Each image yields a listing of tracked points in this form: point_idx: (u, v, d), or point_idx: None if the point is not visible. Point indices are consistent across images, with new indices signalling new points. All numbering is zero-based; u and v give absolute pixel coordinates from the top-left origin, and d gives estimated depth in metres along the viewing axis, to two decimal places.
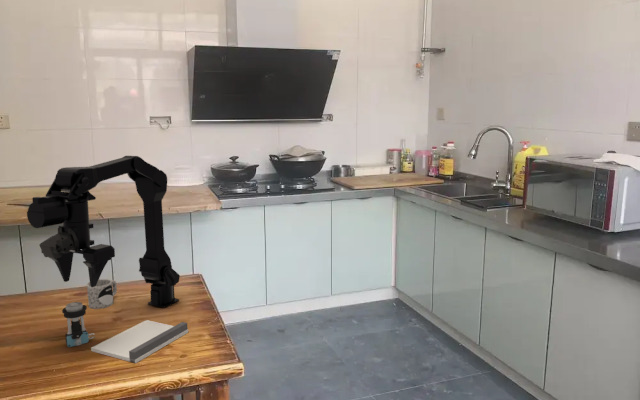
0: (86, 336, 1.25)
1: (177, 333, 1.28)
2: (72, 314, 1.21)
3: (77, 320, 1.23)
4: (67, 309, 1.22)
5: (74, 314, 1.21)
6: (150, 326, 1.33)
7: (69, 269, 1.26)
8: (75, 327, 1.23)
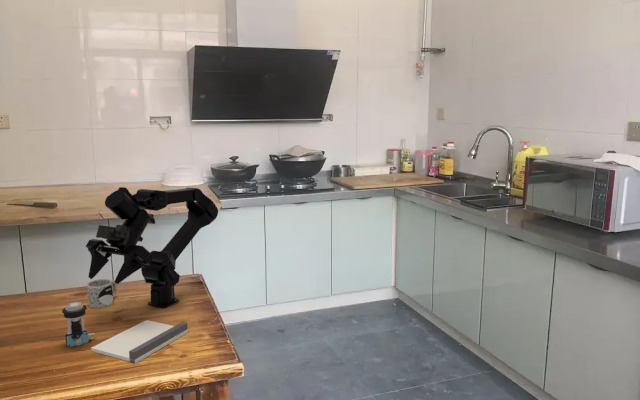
0: (86, 336, 1.25)
1: (177, 333, 1.28)
2: (72, 314, 1.21)
3: (77, 320, 1.23)
4: (67, 309, 1.22)
5: (74, 314, 1.21)
6: (150, 326, 1.33)
7: (98, 270, 1.34)
8: (75, 327, 1.23)
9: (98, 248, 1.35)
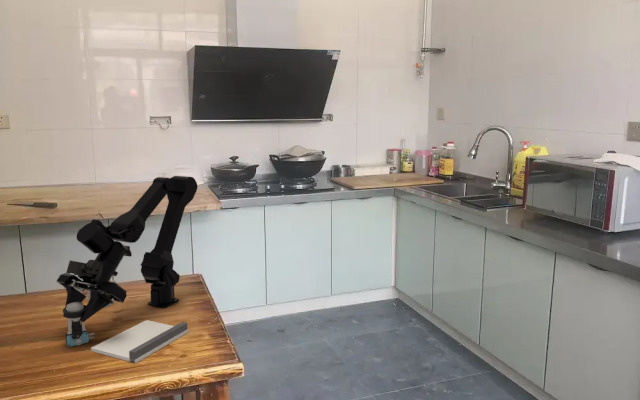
0: (86, 336, 1.25)
1: (177, 333, 1.28)
2: (73, 314, 1.21)
3: (77, 320, 1.23)
4: (68, 309, 1.22)
5: (75, 314, 1.21)
6: (150, 326, 1.33)
7: None
8: (76, 327, 1.23)
9: (74, 284, 1.27)
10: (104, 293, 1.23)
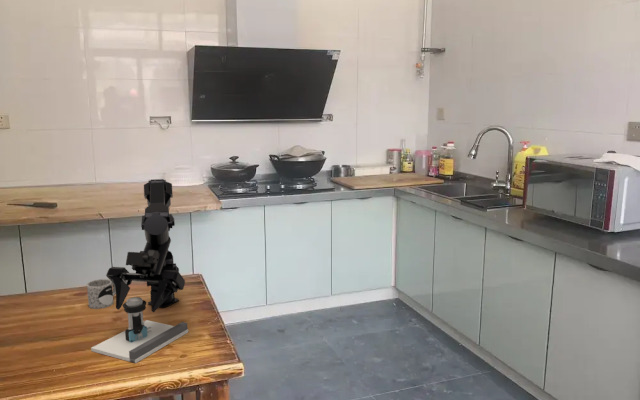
0: (145, 330, 1.27)
1: (177, 333, 1.28)
2: (136, 309, 1.22)
3: (138, 315, 1.24)
4: (129, 304, 1.23)
5: (138, 308, 1.22)
6: (150, 326, 1.33)
7: (123, 300, 1.27)
8: (137, 322, 1.24)
9: (121, 276, 1.27)
10: None
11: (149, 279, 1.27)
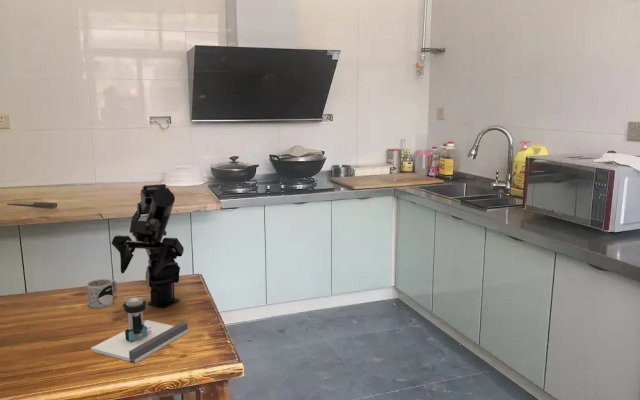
0: (145, 330, 1.27)
1: (177, 333, 1.28)
2: (136, 308, 1.22)
3: (138, 315, 1.24)
4: (129, 304, 1.23)
5: (138, 308, 1.22)
6: (150, 326, 1.33)
7: (127, 265, 1.38)
8: (137, 322, 1.24)
9: (125, 243, 1.39)
10: None
11: (151, 246, 1.39)
